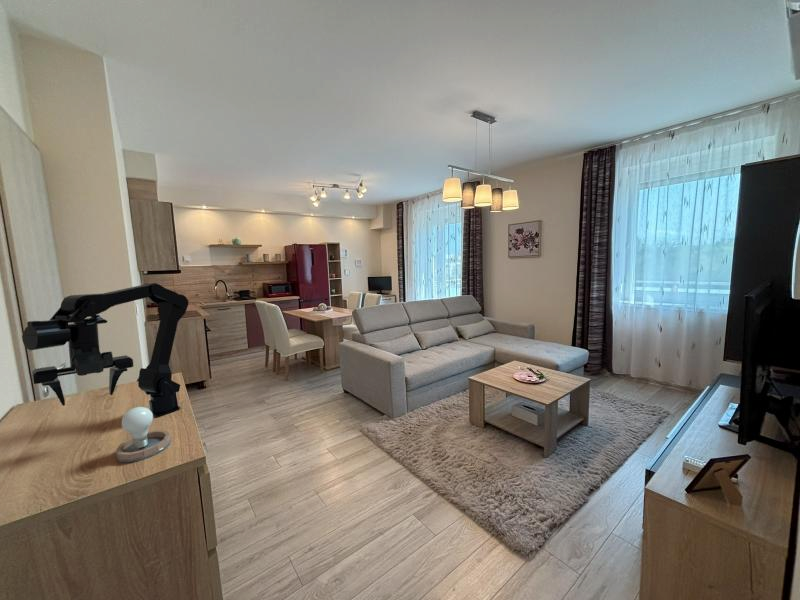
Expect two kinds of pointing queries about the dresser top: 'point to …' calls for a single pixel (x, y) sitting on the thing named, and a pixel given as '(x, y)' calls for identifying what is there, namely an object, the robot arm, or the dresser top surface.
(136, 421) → the lightbulb
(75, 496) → the dresser top surface
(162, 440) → the round dish
